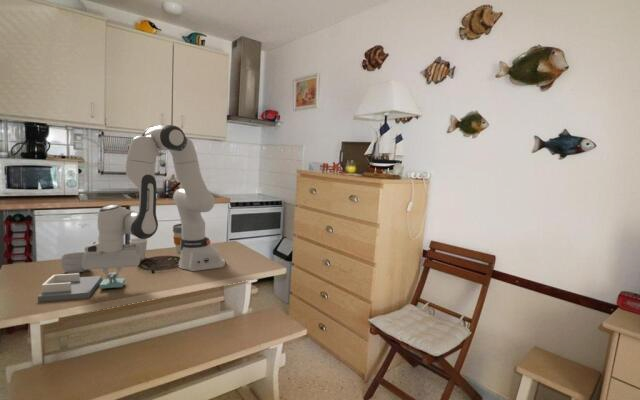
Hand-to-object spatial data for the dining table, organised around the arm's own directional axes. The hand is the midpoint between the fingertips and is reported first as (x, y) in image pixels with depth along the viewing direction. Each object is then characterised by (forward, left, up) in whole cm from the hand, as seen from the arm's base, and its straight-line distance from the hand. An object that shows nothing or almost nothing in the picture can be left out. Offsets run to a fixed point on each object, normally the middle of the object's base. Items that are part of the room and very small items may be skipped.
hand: (112, 277), depth 138 cm
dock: (+14, 0, -4) cm, 15 cm away
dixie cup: (-4, -38, -4) cm, 38 cm away
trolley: (0, 0, -4) cm, 4 cm away
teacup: (+18, -22, -4) cm, 29 cm away
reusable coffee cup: (-26, -47, -4) cm, 54 cm away
